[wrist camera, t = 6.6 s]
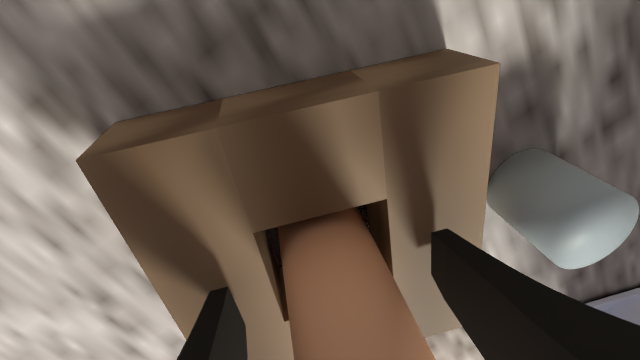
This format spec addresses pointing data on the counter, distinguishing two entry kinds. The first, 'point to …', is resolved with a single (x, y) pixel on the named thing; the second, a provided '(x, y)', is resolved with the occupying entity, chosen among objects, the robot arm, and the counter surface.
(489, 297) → the robot arm
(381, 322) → the long peg
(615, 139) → the counter surface
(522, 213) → the short peg
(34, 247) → the counter surface
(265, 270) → the socket block
